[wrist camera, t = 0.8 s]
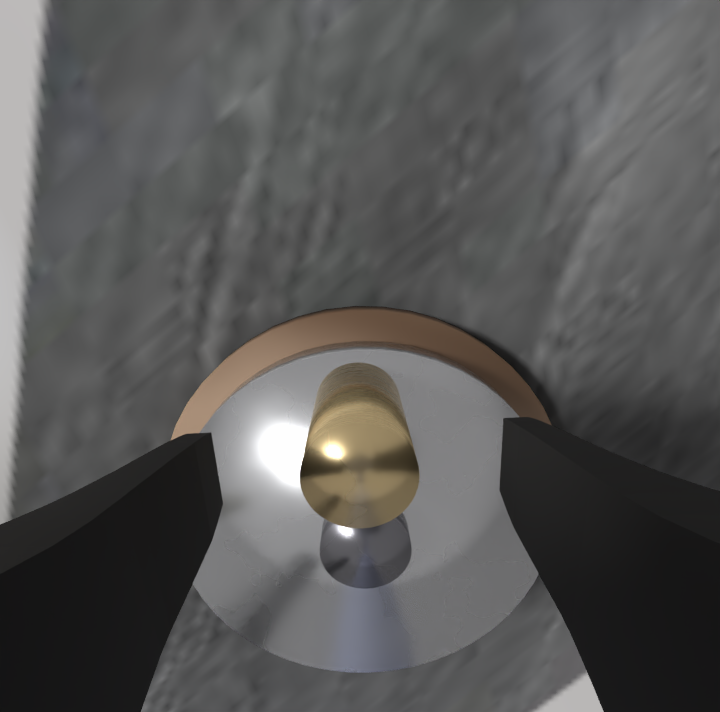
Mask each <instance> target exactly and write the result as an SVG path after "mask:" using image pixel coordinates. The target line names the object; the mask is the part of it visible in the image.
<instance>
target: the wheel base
mask: <svg viewBox="0 0 720 712" xmlns="http://www.w3.org/2000/svg"><path fill="white" fill-rule="evenodd" d="M352 341H380V342H388V343H395V344H403V345H408V346H412V347H416V348H419V349H423V350H427V351H430V352H433V353H435V354H438V355H440V356H443V357H445V358H447V359H450V360H452V361H454V362H456V363H458V364H460V365H461V366H463V367H465V368H466V369H468V370H470V371H471V372H473V373H475V374H476V375H478V376H479V377H480V378H481V379H483V380H484V381H485V382H486V383H488V384H489V385H490V386H491V387H493V388H494V389H495V390H496V391H497V392H498V393H499V395H500V396H501V397H502V398H503V399H504V400H505V401H506V402H507V403H508V404H509V405H510V406H511V407H512V409H513V410H514V411H515V412H516V413H517V414H518V415H519V417H531V418H534V419H537V420H540V421H542V422H545V423H547V424H549V425H551V423H550V421H549V418H548V416H547V414H546V412H545V410H544V408H543V406H542V404H541V403H540V401H539V400H538V398H537V397H536V395H535V394H534V392H533V391H532V389H531V388H530V386H529V385H528V384H527V383H526V382H525V381H524V380H523V379H522V378H521V376H520V375H519V374H518V373H517V372H516V371H515V370H514V369H513V368H512V367H511V366H510V365H509V364H508V363H507V362H506V361H505V360H504V359H502V358H501V357H500V356H499V355H497V354H496V353H495V352H494V351H493V350H491V349H490V348H489V347H488V346H487V345H485V344H484V343H483V342H481V341H480V340H478V339H476V338H475V337H473V336H471V335H470V334H468V333H466V332H465V331H463V330H462V329H460V328H457V327H455V326H453V325H450V324H448V323H446V322H443V321H441V320H439V319H437V318H433V317H430V316H426V315H423V314H419V313H416V312H412V311H408V310H401V309H394V308H387V307H369V306H352V307H343V308H334V309H326V310H322V311H318V312H314V313H310V314H306V315H302V316H298V317H296V318H293V319H291V320H288V321H286V322H283V323H281V324H278V325H276V326H273V327H271V328H270V329H268V330H266V331H264V332H262V333H261V334H259V335H257V336H255V337H254V338H252V339H250V340H249V341H247V342H246V343H245V344H243V345H242V346H241V347H240V348H238V349H237V350H236V351H234V352H233V353H232V354H230V355H229V356H228V357H227V358H226V359H225V360H224V361H223V362H222V363H221V364H220V365H219V366H218V367H217V368H216V369H215V370H214V371H213V372H212V373H211V374H210V375H209V376H208V377H207V378H206V379H205V380H204V381H203V382H202V384H201V385H200V387H199V388H198V389H197V391H196V392H195V393H194V395H193V396H192V397H191V399H190V400H189V402H188V403H187V405H186V407H185V409H184V411H183V412H182V414H181V416H180V418H179V420H178V422H177V424H176V426H175V429H174V432H173V435H172V438H171V440H173V439H175V438H177V437H179V436H182V435H185V434H190V433H199V432H200V431H201V430H202V428H203V427H204V426H205V424H206V423H207V422H208V421H209V419H210V418H211V417H212V415H213V414H214V413H215V411H216V410H217V409H218V407H219V406H220V405H221V403H222V402H223V401H224V400H225V399H226V398H227V397H228V396H229V395H230V394H231V393H232V392H233V391H234V390H235V389H236V388H237V387H238V386H240V385H241V384H242V383H244V382H245V381H246V380H248V379H249V378H250V377H252V376H253V375H254V374H256V373H257V372H258V371H260V370H262V369H264V368H266V367H268V366H269V365H271V364H273V363H275V362H277V361H279V360H280V359H283V358H285V357H288V356H291V355H293V354H296V353H298V352H301V351H304V350H307V349H311V348H315V347H320V346H324V345H328V344H335V343H343V342H352Z"/></svg>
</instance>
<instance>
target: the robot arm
mask: <svg viewBox="0 0 720 712" xmlns="http://www.w3.org/2000/svg"><path fill="white" fill-rule="evenodd" d="M499 491H500V493H501V496H502V499H503V502H504V504H505V507H506V510H507V512H508V515H509V517H510V520H511V522H512V525H513V527H514V529H515V531H516V533H517V535H518V537H519V538H520V540H521V542H522V544H523V546H524V548H525V550H526V551H527V553H528V555H529V557H530V559H531V561H532V562H533V564H534V566H535V568H536V570H537V571H538V573H539V575H540V577H541V579H542V580H543V582H544V584H545V586H546V588H547V589H548V591H549V593H550V595H551V597H552V599H553V600H554V602H555V604H556V606H557V608H558V609H559V611H560V613H561V615H562V617H563V619H564V621H565V623H566V625H567V627H568V629H569V631H570V633H571V635H572V638H573V640H574V642H575V645H576V647H577V649H578V652H579V654H580V656H581V659H582V661H583V663H584V665H585V668H586V670H587V672H588V675H589V677H590V679H591V682H592V684H593V686H594V689H595V691H596V694H597V696H598V699H599V701H600V704H601V706H602V708H603V711H604V712H720V491H716V490H713V489H710V488H707V487H703V486H700V485H697V484H694V483H691V482H688V481H685V480H682V479H679V478H676V477H673V476H670V475H667V474H665V473H662V472H659V471H656V470H654V469H651V468H648V467H646V466H643V465H641V464H638V463H636V462H633V461H631V460H628V459H626V458H623V457H621V456H619V455H616V454H614V453H612V452H609V451H607V450H605V449H602V448H600V447H598V446H596V445H593V444H591V443H589V442H587V441H585V440H582V439H580V438H578V437H576V436H574V435H571V434H569V433H567V432H565V431H563V430H561V429H558V428H556V427H554V426H552V425H549V424H547V423H545V422H542V421H540V420H537V419H534V418H531V417H514V418H503V434H502V452H501V470H500V488H499ZM222 506H223V500H222V494H221V488H220V482H219V476H218V470H217V464H216V458H215V452H214V446H213V440H212V434H211V432H210V433H190V434H185V435H182V436H179V437H177V438H175V439H173V440H171V441H169V442H167V443H165V444H163V445H161V446H159V447H158V448H156V449H154V450H152V451H150V452H148V453H147V454H145V455H143V456H141V457H139V458H138V459H136V460H134V461H132V462H130V463H129V464H127V465H125V466H123V467H121V468H119V469H118V470H116V471H114V472H112V473H110V474H108V475H106V476H104V477H102V478H100V479H98V480H97V481H95V482H93V483H91V484H89V485H87V486H85V487H83V488H81V489H79V490H77V491H75V492H73V493H71V494H69V495H67V496H65V497H63V498H61V499H59V500H57V501H54V502H52V503H50V504H48V505H46V506H43V507H41V508H39V509H36V510H34V511H32V512H29V513H27V514H25V515H22V516H20V517H18V518H16V519H13V520H11V521H8V522H6V523H3V524H1V525H0V712H141V709H142V706H143V703H144V701H145V698H146V695H147V692H148V689H149V686H150V684H151V681H152V678H153V675H154V672H155V669H156V667H157V664H158V661H159V658H160V655H161V653H162V650H163V648H164V645H165V643H166V641H167V638H168V636H169V633H170V631H171V629H172V627H173V625H174V622H175V620H176V618H177V616H178V614H179V612H180V610H181V607H182V605H183V603H184V601H185V599H186V597H187V594H188V592H189V590H190V588H191V586H192V584H193V582H194V579H195V577H196V575H197V573H198V571H199V569H200V566H201V564H202V562H203V560H204V558H205V555H206V553H207V551H208V549H209V546H210V544H211V542H212V539H213V536H214V533H215V530H216V527H217V524H218V520H219V517H220V513H221V510H222Z"/></svg>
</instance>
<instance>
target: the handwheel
mask: <svg viewBox="0 0 720 712" xmlns="http://www.w3.org/2000/svg"><path fill="white" fill-rule="evenodd" d="M514 417H519V415H518V414H517V413H516V412H515V411H514V410H513V409H512V407H511V406H510V405H509V404H508V403H507V402H506V401H505V400H504V399H503V398H502V397H501V396H500V395H499V393H498V392H497V391H496V390H495V389H494V388H493V387H491V386H490V385H489V384H488V383H486V382H485V381H484V380H483V379H481V378H480V377H479V376H478V375H476V374H475V373H473V372H471V371H470V370H468V369H466V368H465V367H463V366H461V365H460V364H458V363H456V362H454V361H452V360H450V359H447V358H445V357H443V356H440V355H438V354H435V353H433V352H430V351H427V350H423V349H419V348H416V347H412V346H408V345H403V344H395V343H388V342H380V341H352V342H343V343H335V344H328V345H324V346H320V347H315V348H311V349H307V350H304V351H301V352H298V353H296V354H293V355H291V356H288V357H285V358H283V359H280V360H279V361H277V362H275V363H273V364H271V365H269V366H268V367H266V368H264V369H262V370H260V371H258V372H257V373H256V374H254V375H253V376H252V377H250V378H249V379H248V380H246V381H245V382H244V383H242V384H241V385H240V386H238V387H237V388H236V389H235V390H234V391H233V392H232V393H231V394H230V395H229V396H228V397H227V398H226V399H225V400H224V401H223V402H222V403H221V405H220V406H219V407H218V409H217V410H216V411H215V413H214V414H213V415H212V417H211V418H210V419H209V421H208V422H207V423H206V424H205V426H204V427H203V428H202V430H201V431H200V432H199V433H210V432H211V434H212V440H213V446H214V452H215V458H216V464H217V470H218V476H219V482H220V488H221V494H222V500H223V506H222V510H221V513H220V517H219V520H218V524H217V527H216V530H215V533H214V536H213V539H212V542H211V544H210V546H209V549H208V551H207V553H206V555H205V558H204V560H203V562H202V564H201V566H200V569H199V571H198V573H197V575H196V577H195V579H194V582H193V585H194V586H195V588H196V589H197V591H198V593H199V594H200V596H201V597H202V599H203V600H204V601H205V602H206V603H207V605H208V606H209V607H210V608H211V609H212V610H213V612H214V613H215V614H216V615H217V616H218V617H219V618H220V619H221V620H223V621H224V622H225V623H226V624H227V625H228V626H229V627H230V628H231V629H233V630H234V631H236V632H237V633H238V634H240V635H241V636H242V637H244V638H245V639H247V640H248V641H250V642H252V643H253V644H255V645H257V646H259V647H260V648H262V649H264V650H266V651H268V652H270V653H273V654H275V655H277V656H280V657H282V658H284V659H287V660H290V661H293V662H296V663H300V664H303V665H306V666H310V667H315V668H320V669H325V670H332V671H342V672H381V671H391V670H398V669H403V668H408V667H413V666H417V665H421V664H424V663H427V662H431V661H434V660H437V659H439V658H442V657H444V656H447V655H449V654H451V653H454V652H456V651H458V650H460V649H462V648H464V647H465V646H467V645H469V644H471V643H473V642H475V641H476V640H478V639H479V638H481V637H482V636H483V635H485V634H486V633H488V632H489V631H491V630H492V629H493V628H494V627H496V626H497V625H498V624H499V623H500V622H501V621H502V620H504V619H505V618H506V617H507V616H508V615H509V614H510V613H511V612H512V611H513V610H514V608H515V607H516V606H517V605H518V604H519V603H520V602H521V601H522V599H523V598H524V597H525V595H526V594H527V592H528V591H529V589H530V588H531V586H532V585H533V583H534V582H535V580H536V578H537V576H538V574H539V573H538V571H537V570H536V568H535V566H534V564H533V562H532V561H531V559H530V557H529V555H528V553H527V551H526V550H525V548H524V546H523V544H522V542H521V540H520V538H519V537H518V535H517V533H516V531H515V529H514V527H513V525H512V522H511V520H510V517H509V515H508V512H507V510H506V507H505V504H504V502H503V499H502V496H501V493H500V491H499V488H500V470H501V452H502V434H503V418H514Z"/></svg>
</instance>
